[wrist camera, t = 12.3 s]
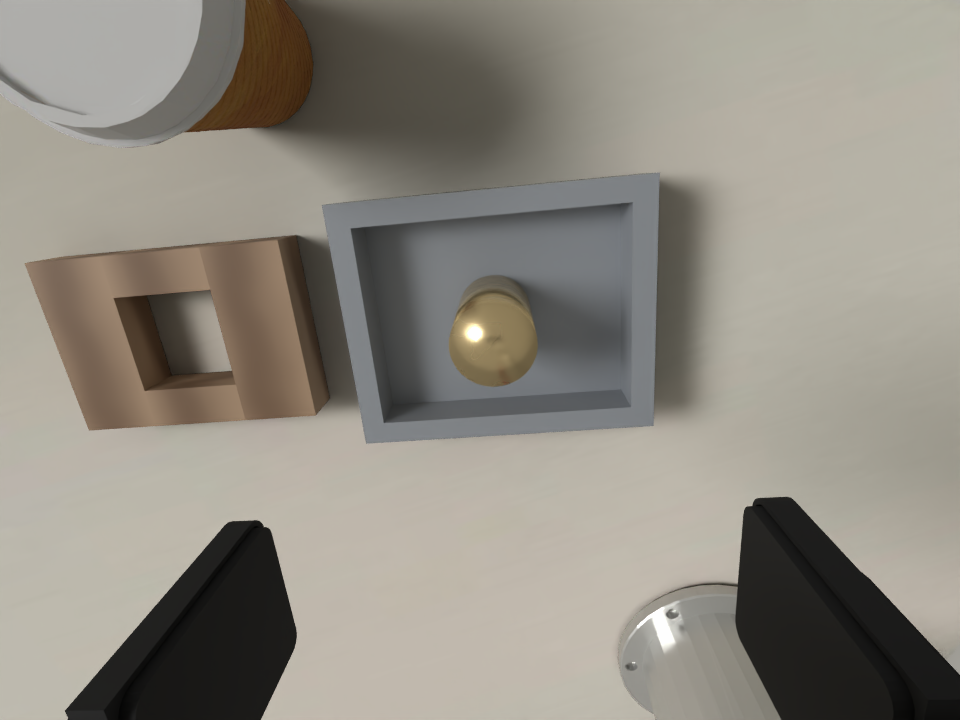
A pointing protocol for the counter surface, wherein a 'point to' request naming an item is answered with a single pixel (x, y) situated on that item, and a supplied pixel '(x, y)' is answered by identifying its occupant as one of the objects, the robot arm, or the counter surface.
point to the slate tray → (543, 276)
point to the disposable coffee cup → (153, 66)
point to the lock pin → (493, 332)
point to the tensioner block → (137, 347)
